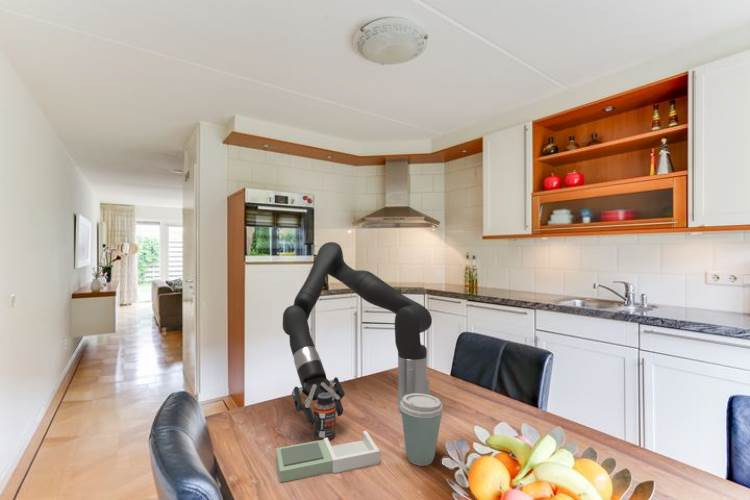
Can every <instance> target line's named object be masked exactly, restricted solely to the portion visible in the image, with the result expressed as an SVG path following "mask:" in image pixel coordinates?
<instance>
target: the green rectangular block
mask: <svg viewBox="0 0 750 500" xmlns="http://www.w3.org/2000/svg"><path fill="white" fill-rule="evenodd" d="M275 452H276V453H275V455H276V457H275V460H276V464H277V465H276V466H277V471H278V478H279V483H281V484H282V483H284V482H285V483H286V482H290V481H294V480H298V479H303V478H309V477H314V476H317V475H322V474H328V473H331V472H332V459H331V457H330V454H329V452H328V449H327V447H326V445H325V442H324V440H313V441H308V442H304V443H297V444H292V445H287V446H281V447H276V448H275ZM332 473H333V472H332Z"/></svg>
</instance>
